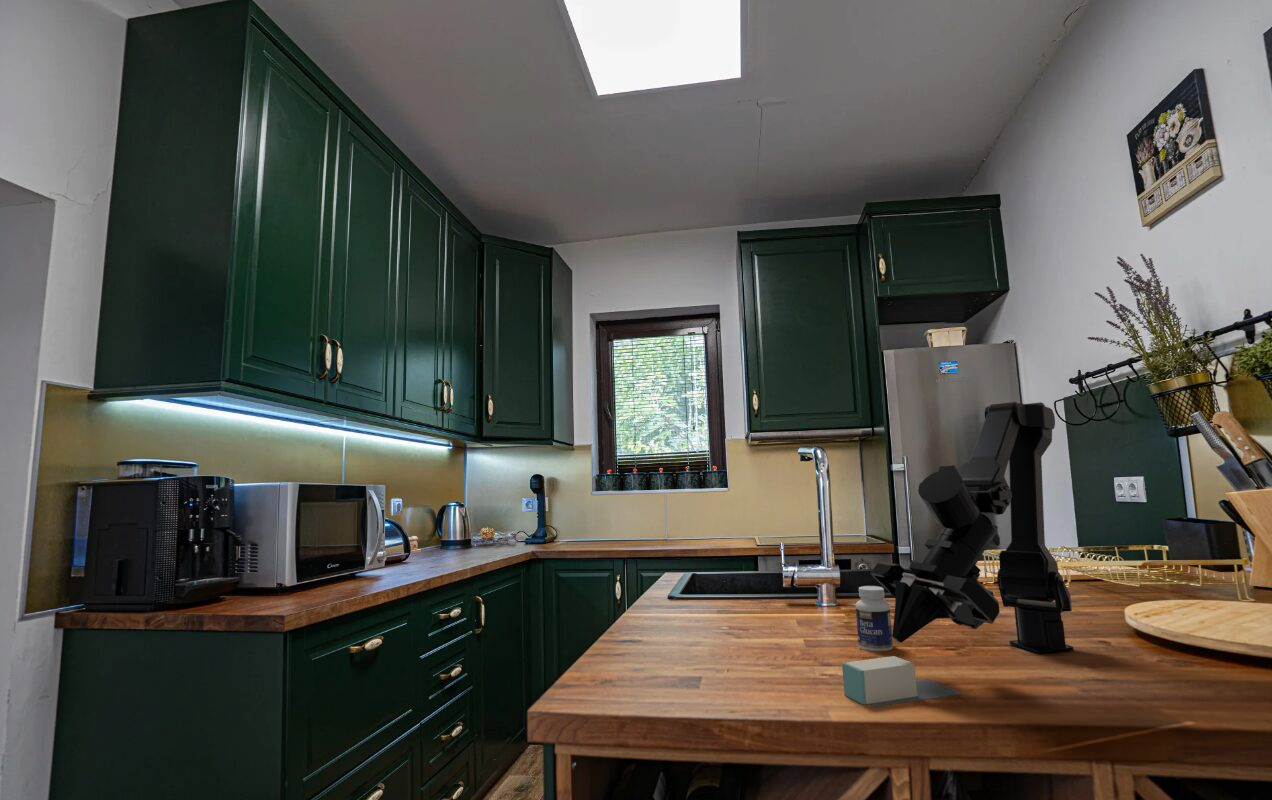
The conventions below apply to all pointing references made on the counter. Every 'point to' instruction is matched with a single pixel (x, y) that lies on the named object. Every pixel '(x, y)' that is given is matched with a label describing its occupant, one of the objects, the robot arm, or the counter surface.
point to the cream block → (879, 680)
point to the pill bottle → (873, 620)
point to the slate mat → (922, 693)
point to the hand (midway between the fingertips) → (896, 640)
